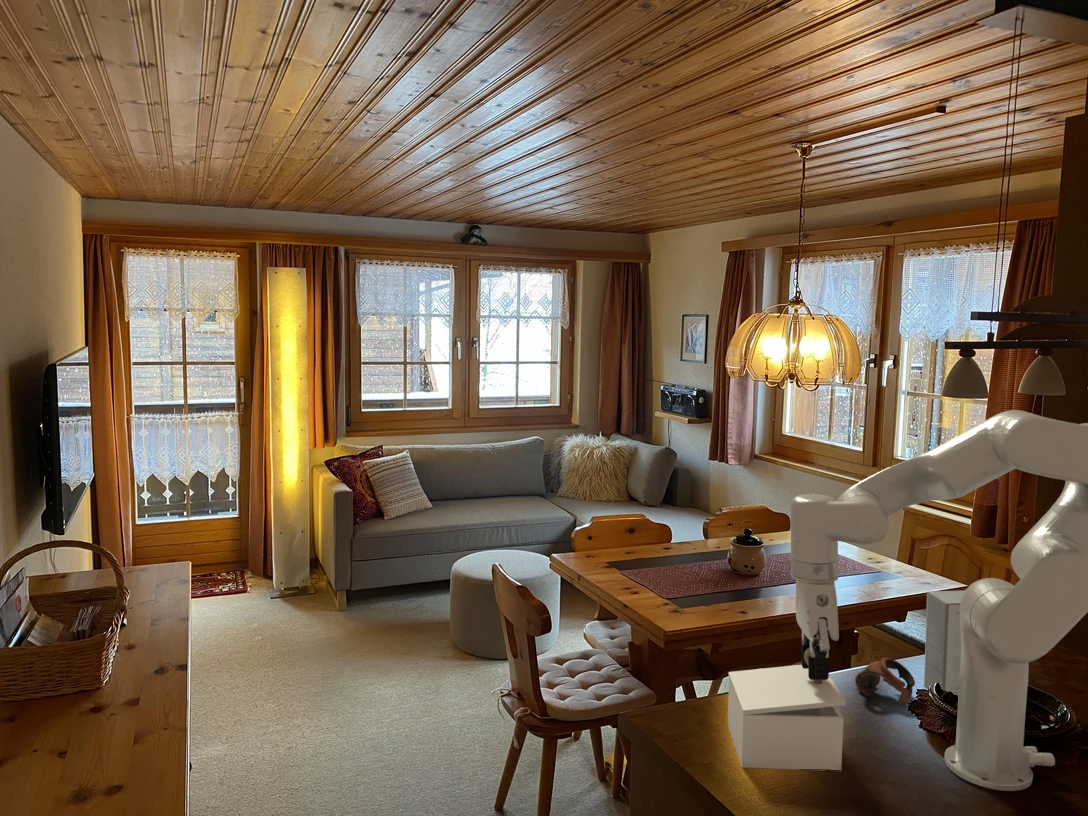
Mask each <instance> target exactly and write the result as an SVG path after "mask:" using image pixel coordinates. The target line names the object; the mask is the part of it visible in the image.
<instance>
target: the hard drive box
mask: <svg viewBox="0 0 1088 816" xmlns="http://www.w3.org/2000/svg"><path fill="white" fill-rule="evenodd" d="M965 591H966V589H964V590H940V591H939V590H936V591H933V590H931V591H927V592H926V610H925V611H926V615H925V616H926V618H925V619H926V620H925V641H924V642H925V646H924V647H925V649H924V650H925V651H924V674H923V675H924V677H923V687H925V688H926V689H927V688H929V686H930V685H932V684H933V683H939V685H940V687H941V689H942V690H943V691H947V692H949V691H950V692H952V693H953V694H954V695H957V696H959V678H960V665H961V628H960V603H961V599H962V596H963V594H964V592H965Z"/></svg>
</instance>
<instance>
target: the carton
mask: <svg viewBox="0 0 1088 816" xmlns="http://www.w3.org/2000/svg"><path fill="white" fill-rule="evenodd" d="M727 700H728V707H727V709H728V710H727V726H728V730H729V733H730V736H731V739H732V742H733V744H734V747H735V750H736V754H737V757H738V760H739V763H740V766H741V768H749V769H750V768H751V769H772V770H773V769H774V770H775V769H778V770H799V769H829V770H830V769H831V770H841V771H842V760H843V738H844V737H843V735H844V717H843V715H842V714H841V713H840V710H839V709H838V708H837V707H838V706H832V707H822V708H811V709H801V710H791V711H780V712H770V713H760V714H750V715H743V712H742V710H741V707H740V704H739V702H738V699H737V696H736V694H735V691H734V688H733V686H732V683H731V681H730V678H729V677H728V699H727ZM786 768H787V769H786Z"/></svg>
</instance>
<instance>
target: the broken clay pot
mask: <svg viewBox="0 0 1088 816" xmlns="http://www.w3.org/2000/svg"><path fill="white" fill-rule="evenodd" d="M889 669H892V670H897V671H898V677H897V676H895V675H894V674H893V673H892V672H891V671H890V670H889ZM881 677H882V681H883V682H884V683H886V684H887V685H889V686H890V687H893V688H894V689H895V690H896V691H898V692H900V697H899V699H898V700H897V703H898V705H901V706H903V705H905V704H906V703H907V702H908V700H910V699H911V698H912V694H913V687H914V686H915V685H916V680H915V679H914V676H913V675H912V673H911V672H910V671H909V670H908V669H907V667H905V666H904V665H903V664H902V663H900V662H898V661H897V660H896V659H892V658H890V657H882V658H881V660H877V661H872V662H870V663H869V664H867V666H866V667H864V669H863V670H862V671H861V672H858V674H856V675H855V677H854V680H855V685H856V689H857V693H858V692H859V693H861V694H862V695H864V696H867V697H871V696H872V693H873V691H874V690H875V689H876V687H877V686H878V685H879V684H880V681H881ZM899 678H901V679H902V680H901V679H899ZM903 680H904V681H903ZM859 693H858V694H859Z"/></svg>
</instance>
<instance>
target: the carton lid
mask: <svg viewBox="0 0 1088 816" xmlns="http://www.w3.org/2000/svg"><path fill="white" fill-rule="evenodd" d="M815 647H816V646H815ZM808 656H810V647H809V648H808V649H807V650H806V651H805V653H804V659H805V662H806V663H807V665H808ZM729 678H730V681H731V683H732V686H733V688H734V691H735V694H736V696H737V699H738V702H739V704H740V707H741V710H742V712H743V715H750V714H760V713H770V712H780V711H791V710H801V709H811V708H822V707H832V706H836V707H841V706H847V702H846V701H847V700H846V699H845V697H844V696H843V694H842V693H841V691H840V690H839V689H838V687H837V685H836V684H835V682H834V681H833V679H832V678H831V677H830V676H829V678H828V679H827V680H810V679H809V677H808V669H804V668H803V667H802V664H794V665H784V666H777V667H776V666H775V667H765V668H756V669H755V668H754V669H747V670H746V669H745V670H736V671H735V670H734V671H729V672H728V679H729Z"/></svg>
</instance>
